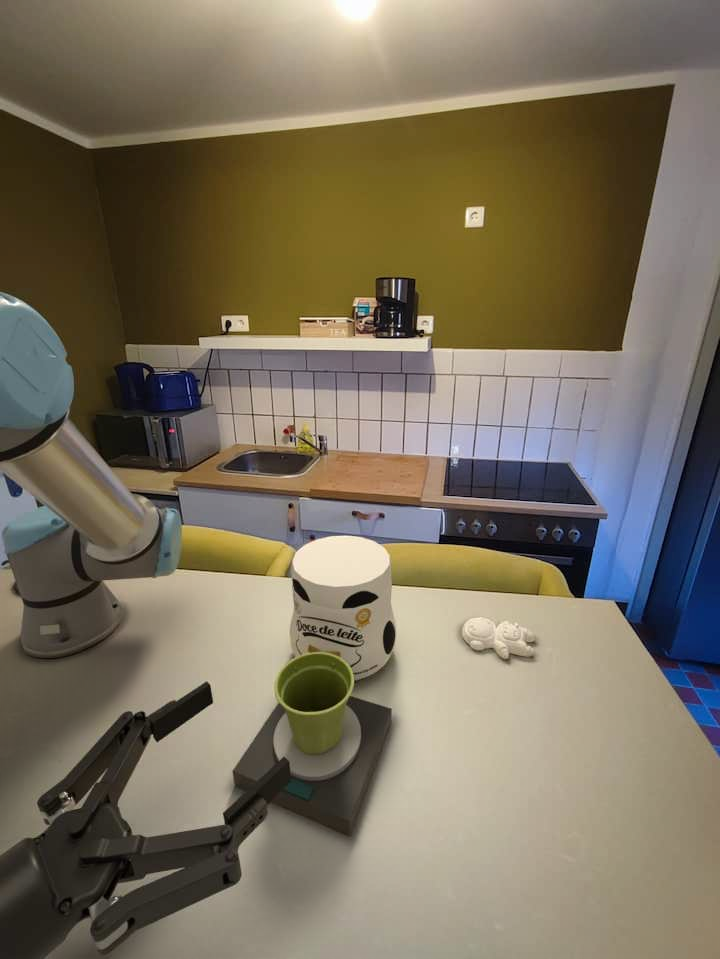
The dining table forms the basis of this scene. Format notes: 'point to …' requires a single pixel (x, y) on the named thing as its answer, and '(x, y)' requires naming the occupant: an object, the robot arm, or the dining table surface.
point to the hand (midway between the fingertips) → (245, 726)
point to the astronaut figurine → (498, 637)
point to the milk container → (343, 602)
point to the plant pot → (315, 699)
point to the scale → (321, 764)
